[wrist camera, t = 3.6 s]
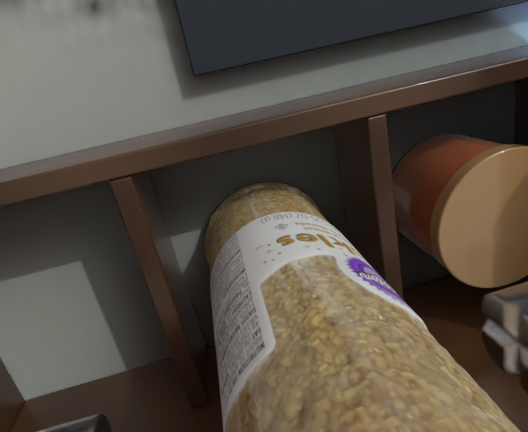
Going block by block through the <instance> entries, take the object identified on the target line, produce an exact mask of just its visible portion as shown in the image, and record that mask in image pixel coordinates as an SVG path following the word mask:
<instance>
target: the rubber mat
mask: <svg viewBox="0 0 528 432" xmlns="http://www.w3.org/2000/svg"><path fill="white" fill-rule="evenodd" d="M174 1H175V5H176V9H177V13H178V17H179V20H180V24H181V28H182V32H183V36H184V40H185V44H186V48H187V51H188V55H189V59H190V63H191V67H192V71H193V75H194V76H198V75H203V74H207V73H212V72H216V71H221V70H225V69H230V68H234V67H238V66H243V65H247V64H252V63H256V62H261V61H265V60H270V59H274V58H279V57H283V56H287V55H292V54H296V53H301V52H305V51H310V50H314V49H319V48H323V47H328V46H332V45H336V44H341V43H345V42H350V41H354V40H359V39H363V38H368V37H372V36H377V35H381V34H386V33H390V32H394V31H399V30H403V29H408V28H412V27H417V26H421V25H426V24H430V23H435V22H439V21H443V20H448V19H452V18H457V17H461V16H466V15H470V14H475V13H479V12H484V11H488V10H492V9H497V8H501V7H506V6H510V5H515V4H519V3H524V2H528V0H174Z"/></svg>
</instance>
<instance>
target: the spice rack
mask: <svg viewBox="0 0 528 432" xmlns="http://www.w3.org/2000/svg"><path fill="white" fill-rule="evenodd" d="M514 81H517V113H516V144H520V145H527V146H528V45H525V46H521V47H517V48H512V49H508V50H504V51H500V52H495V53H491V54H487V55H483V56H478V57H474V58H470V59H466V60H461V61H457V62H453V63H449V64H444V65H440V66H436V67H432V68H427V69H423V70H419V71H415V72H410V73H406V74H402V75H398V76H394V77H389V78H385V79H381V80H377V81H372V82H368V83H364V84H360V85H355V86H351V87H347V88H343V89H338V90H334V91H330V92H326V93H321V94H317V95H313V96H309V97H304V98H300V99H296V100H292V101H288V102H283V103H279V104H275V105H271V106H266V107H262V108H258V109H254V110H249V111H245V112H241V113H237V114H232V115H228V116H224V117H220V118H215V119H211V120H207V121H203V122H198V123H194V124H190V125H186V126H181V127H177V128H173V129H169V130H165V131H160V132H156V133H152V134H148V135H143V136H139V137H135V138H131V139H126V140H122V141H118V142H114V143H109V144H105V145H101V146H97V147H92V148H88V149H84V150H80V151H75V152H71V153H67V154H63V155H58V156H54V157H50V158H46V159H42V160H37V161H33V162H29V163H25V164H20V165H16V166H12V167H8V168H3V169H0V207H3V206H7V205H12V204H16V203H20V202H24V201H28V200H32V199H36V198H40V197H44V196H48V195H52V194H57V193H61V192H65V191H69V190H73V189H77V188H81V187H85V186H89V185H93V184H97V183H101V182H106V181H109V184H110V187H111V190H112V193H113V195H114V198H115V201H116V204H117V206H118V209H119V212H120V215H121V217H122V220H123V223H124V225H125V228H126V231H127V234H128V236H129V239H130V242H131V245H132V247H133V250H134V253H135V256H136V258H137V261H138V264H139V266H140V269H141V272H142V275H143V277H144V280H145V283H146V286H147V288H148V291H149V294H150V296H151V299H152V302H153V305H154V307H155V310H156V313H157V316H158V318H159V321H160V324H161V327H162V329H163V332H164V335H165V337H166V340H167V343H168V346H169V348H170V351H171V354H172V357H173V358H170V359H167V360H163V361H160V362H156V363H153V364H150V365H146V366H143V367H139V368H136V369H132V370H129V371H126V372H122V373H119V374H115V375H112V376H108V377H105V378H102V379H98V380H95V381H91V382H88V383H84V384H81V385H77V386H74V387H71V388H67V389H64V390H60V391H57V392H53V393H50V394H47V395H43V396H40V397H36V398H33V399H29V400H27V401H24V399H23V397H22V396H21V394H20V392H19V390H18V389H17V387H16V385H15V383H14V381H13V380H12V378H11V376H10V374H9V373H8V371H7V369H6V367H5V366H4V364H3V362H2V360H1V358H0V432H37V431H41V430H45V429H48V428H50V427H53V426H57V425H60V424H64V423H67V422H71V421H74V420H78V419H82V418H85V417H89V416H92V415H96V414H99V413H100V414H104V415H106V417H107V419H108V421H109V423H110V425H111V427H112V428H111V432H223V420H222V409H221V398H220V387H219V377H218V366H217V356H216V346H211V347H208V348H205V345H204V342H203V339H202V336H201V332H200V329H199V326H198V323H197V320H196V317H195V314H194V311H193V308H192V305H191V302H190V299H189V295H188V292H187V289H186V286H185V283H184V280H183V277H182V274H181V271H180V268H179V265H178V262H177V259H176V255H175V252H174V249H173V246H172V243H171V240H170V237H169V234H168V231H167V228H166V225H165V222H164V218H163V215H162V212H161V209H160V206H159V203H158V200H157V197H156V194H155V191H154V188H153V185H152V182H151V178H150V175H149V172H148V171H151V170H155V169H159V168H163V167H167V166H171V165H175V164H179V163H183V162H187V161H191V160H196V159H200V158H204V157H208V156H212V155H216V154H220V153H224V152H228V151H232V150H236V149H240V148H245V147H249V146H253V145H257V144H261V143H265V142H269V141H273V140H277V139H281V138H285V137H290V136H294V135H298V134H302V133H306V132H310V131H314V130H318V129H322V128H326V127H330V126H334V133H335V140H336V147H337V154H338V161H339V168H340V175H341V182H342V189H343V196H344V203H345V210H346V217H347V224H348V231H349V238H350V243H351V244H352V245H353V247H354V248H355V249H356V250H357V251H358V252H359V253H360V254H361V255H362V257H363V258H364V259H365V260H366V261H367V262H368V263H369V264H370V265H371V267H372V268H373V269H374V270H375V271H376V272H377V273H378V274H379V275H380V276H381V277H382V278H383V279H384V280H385V281H386V282H387V283H388V285H389V286H390V287H391V288H392V289H393V290H394V291H395V292H396V293H397V294H398V295H399V296H400V297H401V298H402V299H403V300H404V302H405V303H406V304H407V305H408V306H409V307H410V308H411V309H412V310H413V311H414V312H415V313H416V314H417V315H418V316H419V317H420V318H421V319H422V321H423V322H424V324H425V325H426V327H427V329H428V332H429V333H430V334H431V335H432V336H433V337H434V338H435V339H436V341H437V342H438V343H439V345H441V346H442V347H443V348H445V349H446V350H447V351H448V353H449V354H450V355H451V356H452V358H453V359H454V360H455V362H456V363H457V364H459V365H460V366H461V367H462V368H463V369H464V370H466V372H467V373H468V374H469V375H470V376H471V377H472V379H473V380H474V381H475V382H476V383H477V384H478V386H479V387H480V388H482V389H483V390H484V391H485V392H486V393H487V394H488V396H489V397H490V398H491V399H492V400H493V401H494V402H495V403H496V405H497V406H498V407H499V408H500V409H501V411H502V412H503V413H504V414H505V415H506V417H507V418H508V419H509V420H510V421H511V422H512V423H513V424H514V425H515V426H516V427H517V428H518V429H519V430H520V431H521V432H528V393H527V392H526V391H525V390H524V389H523V388H521V386H520V381H519V377H518V376H516V375H513V374H510V373H507V372H504V371H503V370H502V369H501V368H500V367H499V366H498V365H496V364H495V363H494V361H493V360H492V359H491V357H490V356H489V354H488V353H487V350H486V348H485V346H484V343H483V339H482V327H483V326H484V324H485V322H486V321H487V319H488V317H487V316H486V315H485V314H484V313H483V312H482V300H483V298H484V296H485V295H486V294H489V293H492V292H496V291H499V290H502V289H505V288H508V287H511V286H515V285H518V284H521V283H524V282H527V281H528V275H527V276H525V277H524V278H522V279H520V280H518V281H516V282H514V283H511V284H508V285H505V286H500V287H494V288H480V287H474V286H470V285H467V284H465V283H463V282H461V281H459V280H458V279H456V278H455V277H454V276H452V277H448V278H445V279H441V280H438V281H435V282H431V283H428V284H424V285H421V286H417V287H414V288H411V289H407V290H404V291H403V288H402V278H401V267H400V256H399V245H398V234H397V224H396V213H395V202H394V191H393V181H392V170H391V159H390V148H389V138H388V127H387V116H386V114H384V113H388V112H392V111H396V110H400V109H404V108H408V107H412V106H416V105H420V104H424V103H429V102H433V101H437V100H441V99H445V98H449V97H453V96H457V95H461V94H465V93H469V92H473V91H478V90H482V89H486V88H490V87H494V86H498V85H502V84H506V83H510V82H514Z"/></svg>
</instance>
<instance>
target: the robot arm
mask: <svg viewBox="0 0 528 432" xmlns="http://www.w3.org/2000/svg"><path fill="white" fill-rule="evenodd" d="M482 312H483V313H484V314H485V315H486V316H487V317H488V319H487V321H486V322H485V324H484V326H483V327H482V339H483V343H484V346H485V348H486V350H487V353H488V354H489V356H490V357H491V359H492V360H493V361H494V363H495V364H496V365H498V366H499V367H500V368H501V369H502V370H503V371H504V372H507V373H510V374H513V375H516V376H518V377H519V381H520V386H521V388H523V389H524V390H525V391H526V392H527V393H528V281H527V282H524V283H521V284H518V285H515V286H511V287H508V288H505V289H502V290H499V291H496V292H492V293H489V294H486V295H485V296H484V298H483V300H482ZM111 428H112V427H111V425H110V423H109V421H108V419H107V417H106V415H104V414H100V413H99V414H96V415H92V416H89V417H85V418H82V419H78V420H74V421H71V422H67V423H64V424H60V425H57V426H53V427H50V428H48V429H45V430H41V431H37V432H111Z"/></svg>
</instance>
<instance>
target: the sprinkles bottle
mask: <svg viewBox="0 0 528 432" xmlns="http://www.w3.org/2000/svg"><path fill="white" fill-rule="evenodd" d="M204 248H205V253H206V258H207V261H208V263H209V265H210V273H211V278H210V294H211V304H212V315H213V325H214V336H215V346H216V356H217V366H218V377H219V387H220V398H221V409H222V420H223V432H521V431H520V430H519V429H518V428H517V427H516V426H515V425H514V424H513V423H512V422H511V421H510V420H509V419H508V418H507V417H506V415H505V414H504V413H503V412H502V411H501V409H500V408H499V407H498V406H497V405H496V403H495V402H494V401H493V400H492V399H491V398H490V397H489V396H488V394H487V393H486V392H485V391H484V390H483V389H482V388H480V387H479V386H478V384H477V383H476V382H475V381H474V380H473V379H472V377H471V376H470V375H469V374H468V373H467V372H466V370H464V369H463V368H462V367H461V366H460V365H459V364H457V363H456V362H455V360H454V359H453V358H452V356H451V355H450V354H449V353H448V351H447V350H446V349H445V348H443V347H442V346H441V345H439V343H438V342H437V341H436V339H435V338H434V337H433V336H432V335H431V334H430V333H429V332H428V329H427V327H426V325H425V324H424V322H423V321H422V319H421V318H420V317H419V316H418V315H417V314H416V313H415V312H414V311H413V310H412V309H411V308H410V307H409V306H408V305H407V304H406V303H405V302H404V300H403V299H402V298H401V297H400V296H399V295H398V294H397V293H396V292H395V291H394V290H393V289H392V288H391V287H390V286H389V285H388V283H387V282H386V281H385V280H384V279H383V278H382V277H381V276H380V275H379V274H378V273H377V272H376V271H375V270H374V269H373V268H372V267H371V265H370V264H369V263H368V262H367V261H366V260H365V259H364V258H363V257H362V255H361V254H360V253H359V252H358V251H357V250H356V249H355V248H354V247H353V245H352V244H351V243H350V242H349V241H348V240H347V239H346V238H345V237H344V236H343V235H342V233H341V232H340V231H338V230H337V229H336V228H335V227H334V226H333V225H331V224H330V223H329V222H328V221H327V220H326V219H325V218H324V217H323V215H322V213H321V211H320V209H319V207H318V206H317V205H316V203H315V202H314V201H313V199H312V198H311V197H309V196H308V195H307V194H305V193H304V192H302V191H301V190H300V189H298V188H296V187H293V186H290V185H287V184H284V183H280V182H262V183H254V184H251V185H249V186H246V187H243V188H240V189H238V190H237V191H235V192H234V193H233V194H232V195H230V196H228V197H227V198H226V199H225V200H224V201H223V202H222V203H221V204H220V205H219V206H218V207H217V209H216V210H215V211H214V212H213V214H212V215H211V216H210V220H209V224H208V226H207V229H206V232H205V241H204Z"/></svg>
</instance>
